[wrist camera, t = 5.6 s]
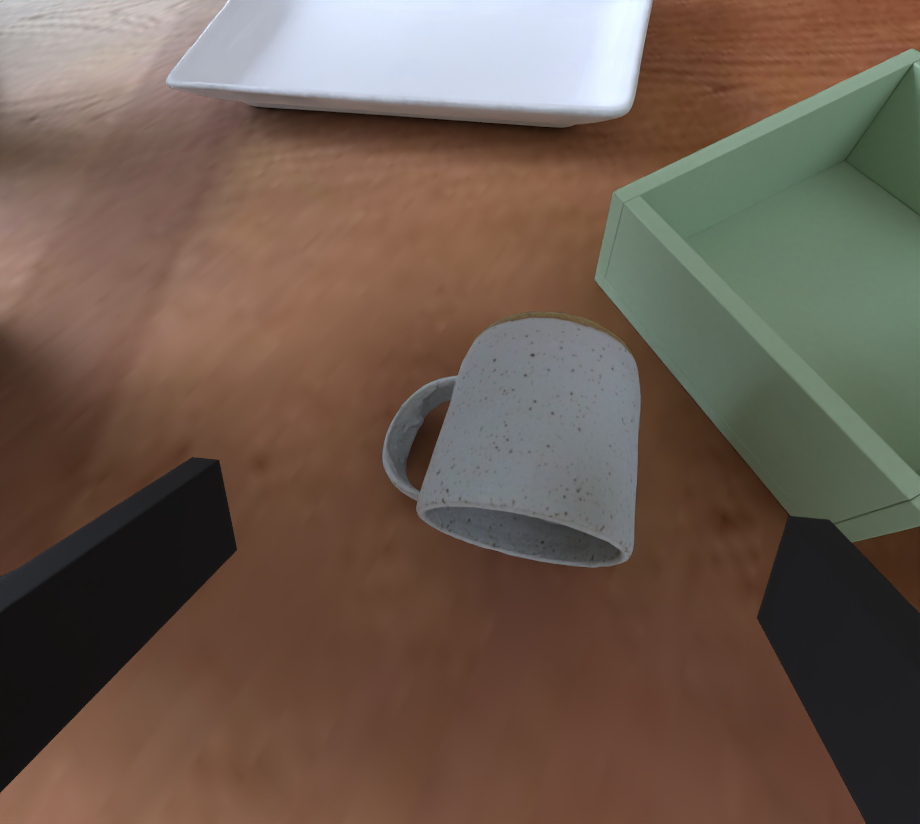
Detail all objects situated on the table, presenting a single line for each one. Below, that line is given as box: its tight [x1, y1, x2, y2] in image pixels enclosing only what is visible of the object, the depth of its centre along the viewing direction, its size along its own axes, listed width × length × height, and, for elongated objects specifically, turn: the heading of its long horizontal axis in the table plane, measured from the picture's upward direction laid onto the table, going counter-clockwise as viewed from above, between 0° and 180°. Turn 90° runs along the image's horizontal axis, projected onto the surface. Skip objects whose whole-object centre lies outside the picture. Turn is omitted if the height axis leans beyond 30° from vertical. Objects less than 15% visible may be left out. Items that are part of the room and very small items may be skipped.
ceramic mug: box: [382, 312, 641, 568], centre depth 19 cm, size 11×8×8 cm
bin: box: [595, 49, 920, 543], centre depth 20 cm, size 16×16×6 cm
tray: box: [166, 0, 653, 128], centre depth 33 cm, size 17×31×4 cm, turn 74°
